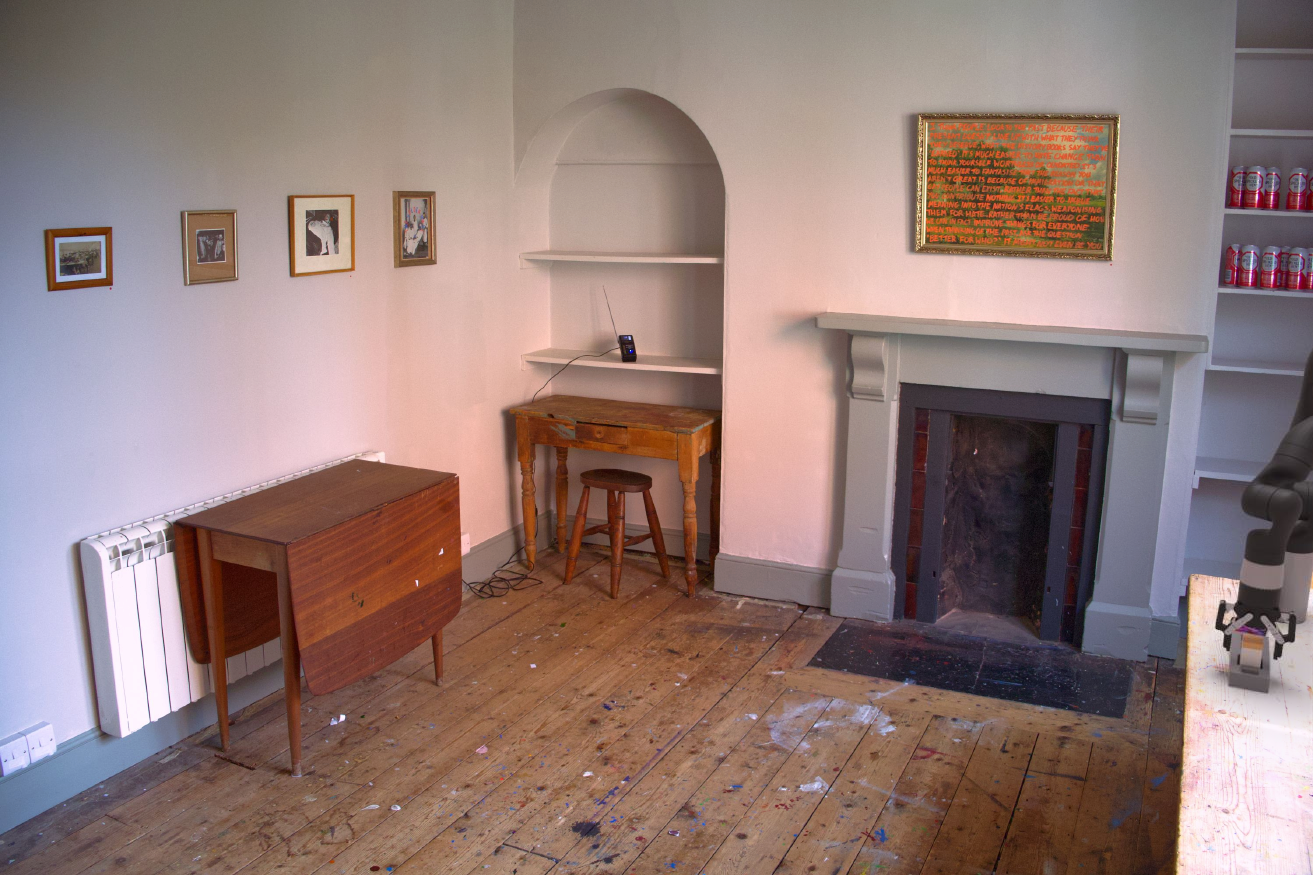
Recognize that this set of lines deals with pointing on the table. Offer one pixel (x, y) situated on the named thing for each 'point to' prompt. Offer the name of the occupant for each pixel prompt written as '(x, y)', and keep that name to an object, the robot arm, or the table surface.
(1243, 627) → the smartphone
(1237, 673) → the power strip
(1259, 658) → the orange-topped block
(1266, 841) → the table surface
